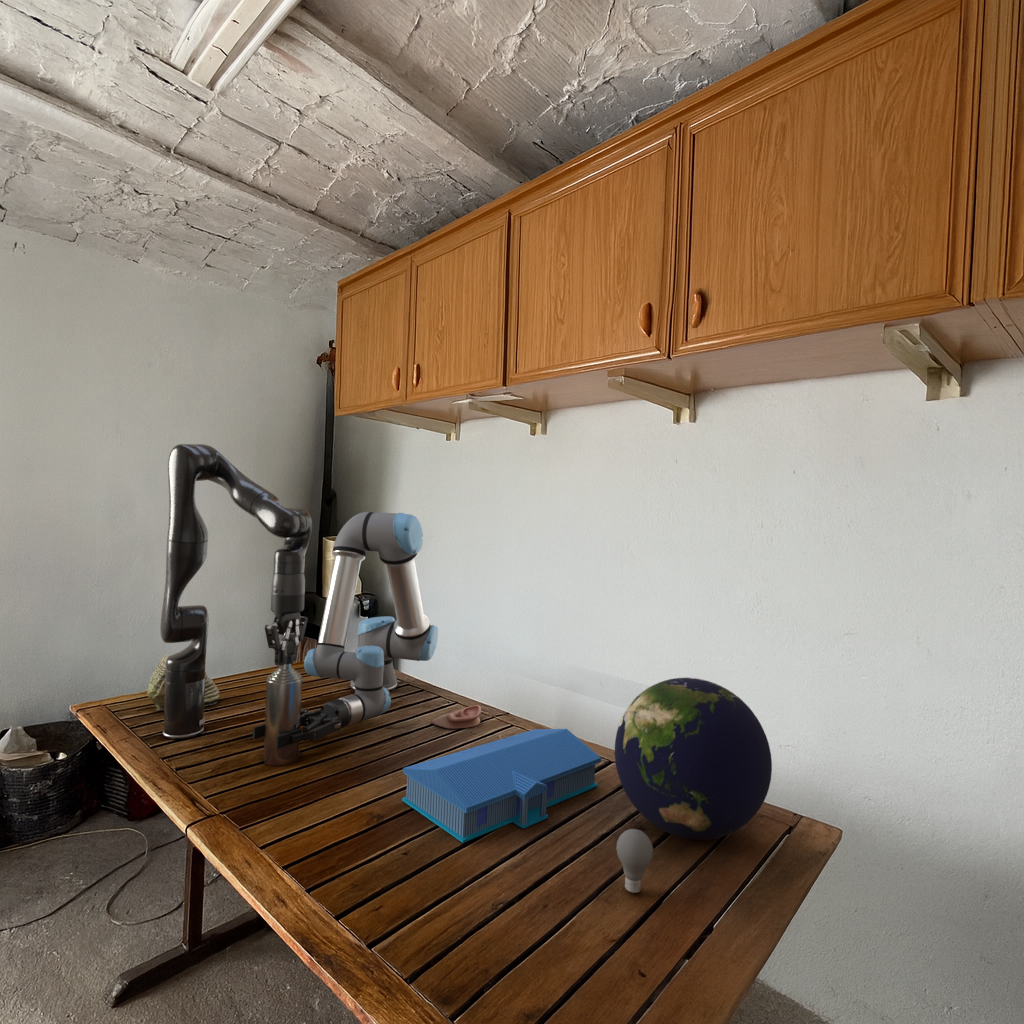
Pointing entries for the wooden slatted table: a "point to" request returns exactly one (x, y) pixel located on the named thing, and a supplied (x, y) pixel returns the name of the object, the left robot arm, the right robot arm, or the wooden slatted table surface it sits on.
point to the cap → (289, 658)
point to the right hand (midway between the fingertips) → (265, 737)
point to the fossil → (158, 687)
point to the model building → (501, 782)
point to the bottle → (282, 714)
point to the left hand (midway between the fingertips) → (285, 662)
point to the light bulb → (634, 857)
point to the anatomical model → (460, 718)
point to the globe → (693, 758)
